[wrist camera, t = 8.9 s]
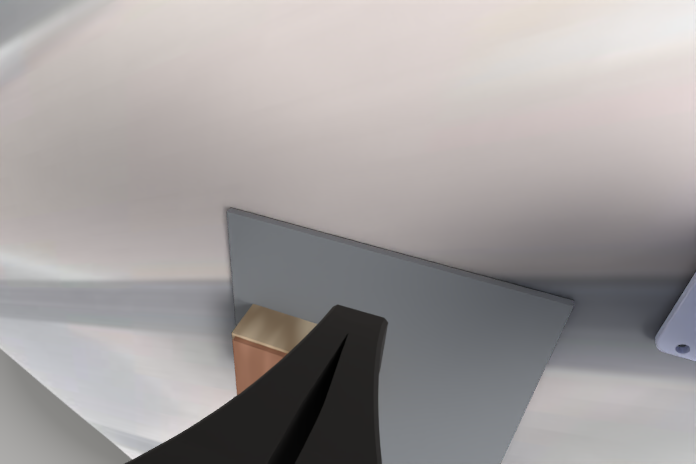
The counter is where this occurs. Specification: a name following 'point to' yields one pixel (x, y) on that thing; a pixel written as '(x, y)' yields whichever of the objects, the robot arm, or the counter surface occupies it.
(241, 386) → the brown wooden block
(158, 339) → the counter surface
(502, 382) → the mat
